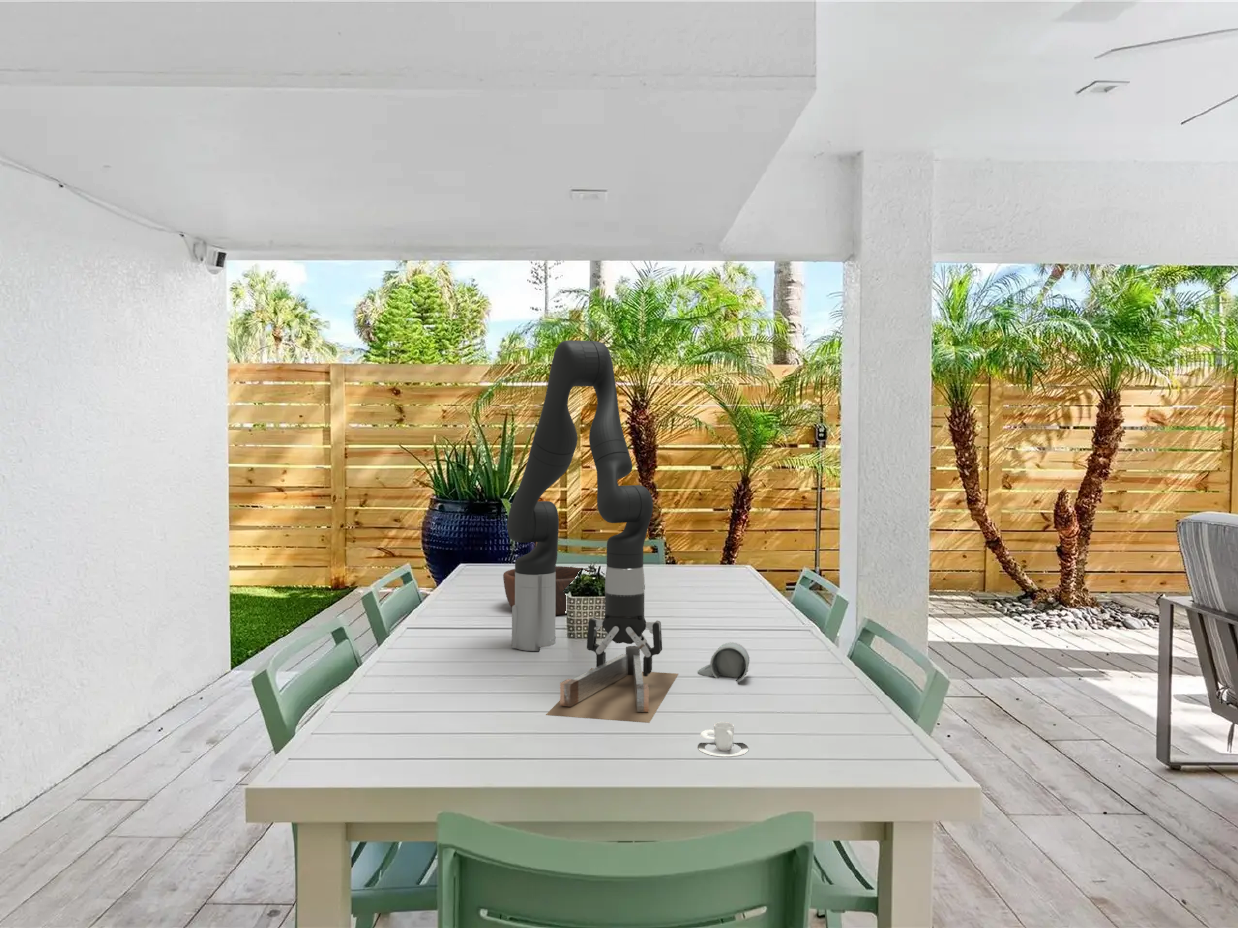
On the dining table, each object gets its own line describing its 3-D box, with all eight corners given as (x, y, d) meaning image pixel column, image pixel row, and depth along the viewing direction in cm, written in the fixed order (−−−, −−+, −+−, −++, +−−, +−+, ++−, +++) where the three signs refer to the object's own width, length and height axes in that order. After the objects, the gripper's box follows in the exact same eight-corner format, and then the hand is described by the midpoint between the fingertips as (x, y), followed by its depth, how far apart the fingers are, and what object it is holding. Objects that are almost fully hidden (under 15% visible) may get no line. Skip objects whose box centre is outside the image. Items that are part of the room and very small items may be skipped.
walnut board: (545, 720, 159) (545, 684, 159) (591, 672, 190) (591, 642, 190) (649, 728, 155) (649, 691, 155) (678, 678, 187) (678, 647, 186)
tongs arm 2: (633, 674, 185) (633, 654, 184) (643, 674, 185) (643, 654, 184) (636, 711, 161) (637, 688, 160) (648, 711, 161) (648, 688, 160)
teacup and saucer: (695, 740, 151) (696, 715, 151) (745, 740, 151) (745, 715, 151) (699, 759, 142) (699, 732, 142) (751, 759, 142) (751, 733, 142)
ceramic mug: (750, 674, 190) (749, 638, 190) (747, 685, 182) (747, 647, 182) (700, 673, 192) (699, 637, 192) (695, 683, 184) (695, 645, 184)
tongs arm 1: (618, 673, 186) (618, 653, 185) (627, 674, 185) (628, 654, 185) (560, 705, 164) (560, 682, 164) (570, 706, 163) (570, 684, 163)
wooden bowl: (611, 607, 262) (611, 570, 261) (558, 622, 241) (558, 582, 240) (540, 597, 275) (540, 563, 275) (484, 611, 254) (484, 574, 254)
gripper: (583, 591, 176) (583, 676, 177) (658, 594, 173) (657, 681, 173) (593, 585, 183) (592, 667, 184) (664, 588, 180) (664, 671, 181)
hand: (624, 674), depth 179 cm, fingers open, 8 cm apart
